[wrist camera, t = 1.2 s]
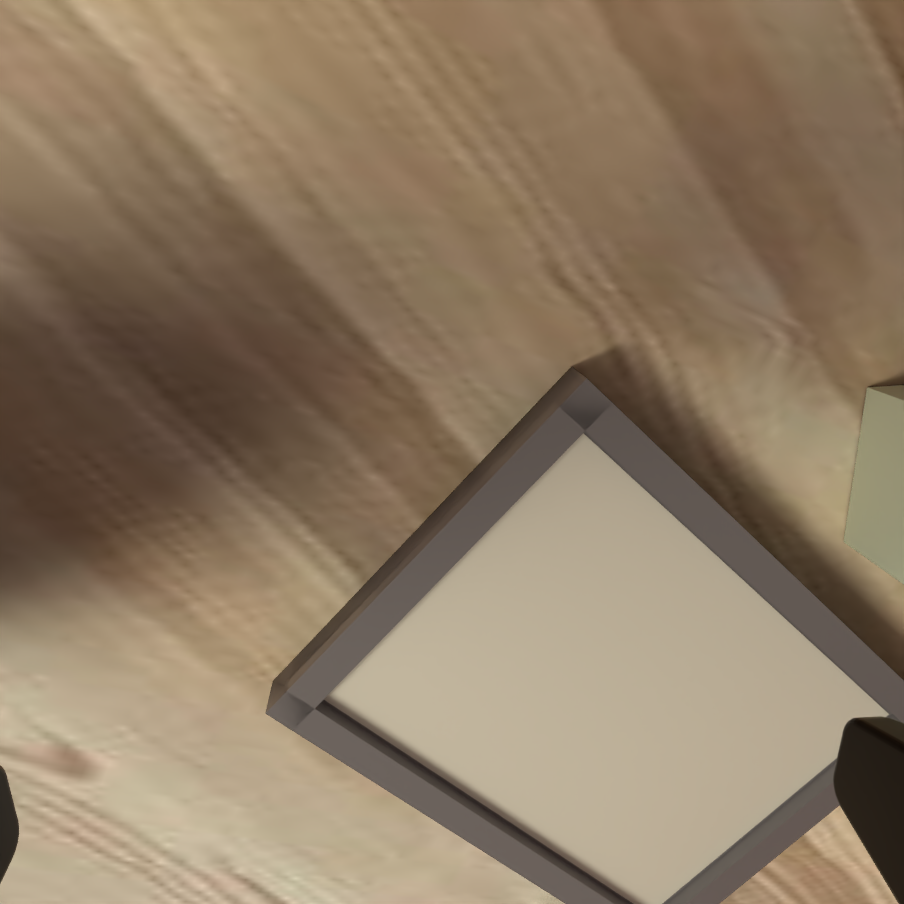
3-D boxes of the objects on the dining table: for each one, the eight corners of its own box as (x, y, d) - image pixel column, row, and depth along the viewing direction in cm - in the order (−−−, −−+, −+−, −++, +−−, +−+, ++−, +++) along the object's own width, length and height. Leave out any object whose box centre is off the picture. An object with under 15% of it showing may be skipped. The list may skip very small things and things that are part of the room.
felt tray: (637, 919, 27) (652, 958, 25) (272, 681, 22) (265, 713, 20) (911, 690, 24) (944, 719, 23) (571, 366, 19) (586, 378, 18)
